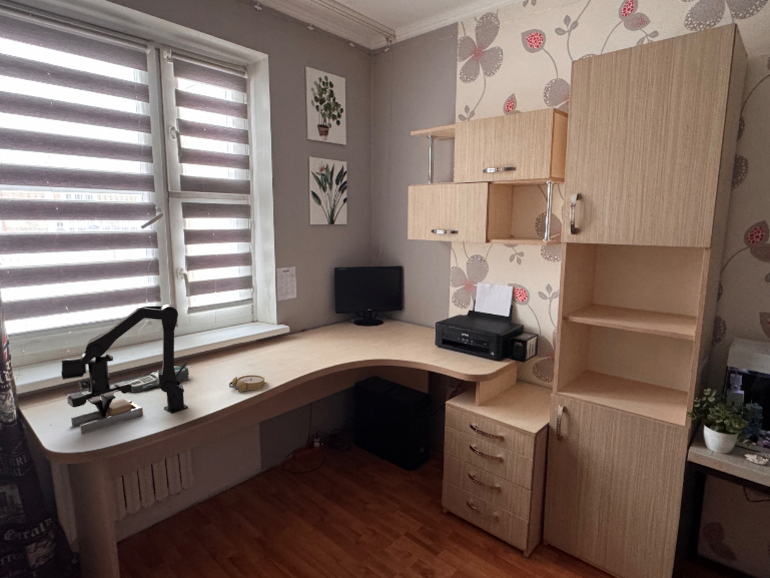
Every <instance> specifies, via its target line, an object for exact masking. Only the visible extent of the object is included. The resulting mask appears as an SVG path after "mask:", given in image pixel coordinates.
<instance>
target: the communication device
mask: <svg viewBox="0 0 770 578" xmlns="http://www.w3.org/2000/svg"><path fill="white" fill-rule="evenodd" d="M187 364H188V361H185V362H184V364H183V365H182V364H181V365H179V366H175V365H174V369H175V374H176V379H177V380H178V381H180V382H183V381H186V380H189V376H190V372H189V368H188V367H186V366H187ZM157 379H158V371H157V370H156V371H153V372H152V373H150V374H149V375H147V376H145V377H141V378H138V379H135V380H133V381H132V380H131V381H130V382H128V383H129V384H131V385H132V390H133V391H132V392H131V393H141V392H145V391H148V390H150V389H154V388H156V387H159V386H158V382H157Z"/></svg>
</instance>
